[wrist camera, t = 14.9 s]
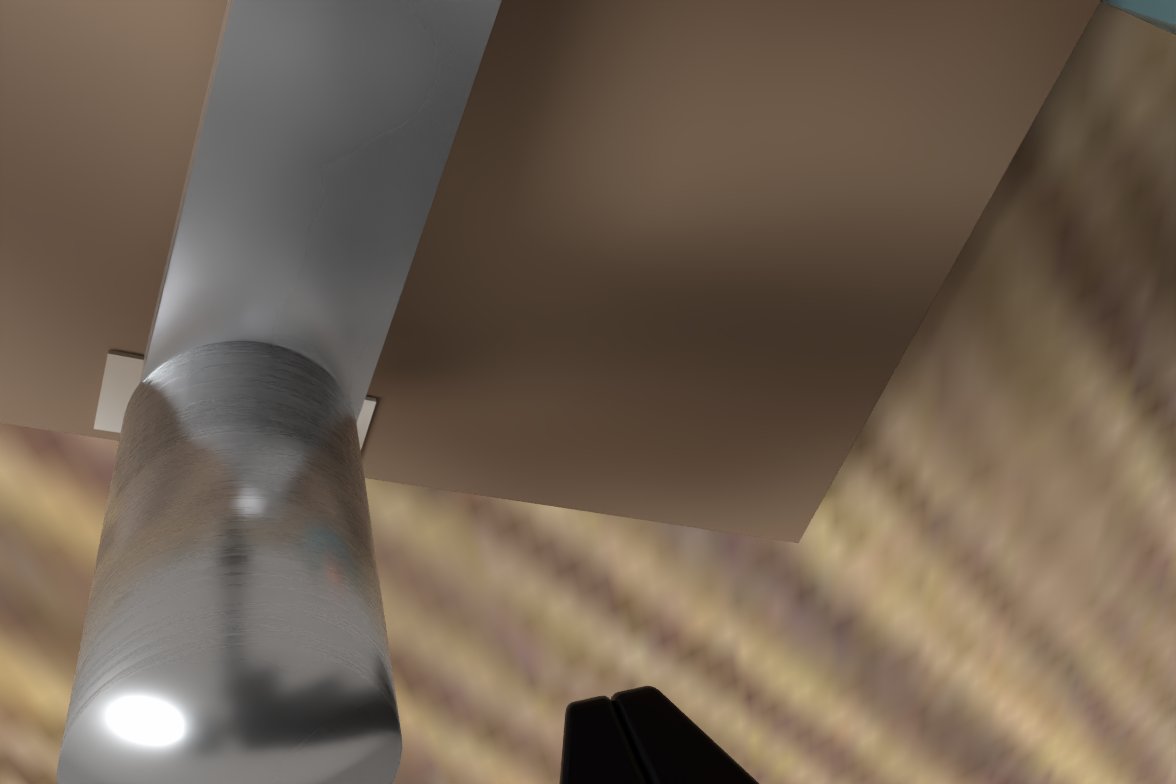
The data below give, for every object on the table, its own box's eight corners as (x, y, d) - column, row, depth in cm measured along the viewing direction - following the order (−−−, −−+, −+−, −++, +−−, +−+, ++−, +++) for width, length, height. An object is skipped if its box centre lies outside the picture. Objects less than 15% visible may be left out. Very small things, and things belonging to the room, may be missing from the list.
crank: (283, -679, 9) (328, -1314, 4) (677, -442, 11) (1141, -621, 5) (64, 398, 14) (-69, 869, 8) (363, 451, 16) (426, 877, 10)
